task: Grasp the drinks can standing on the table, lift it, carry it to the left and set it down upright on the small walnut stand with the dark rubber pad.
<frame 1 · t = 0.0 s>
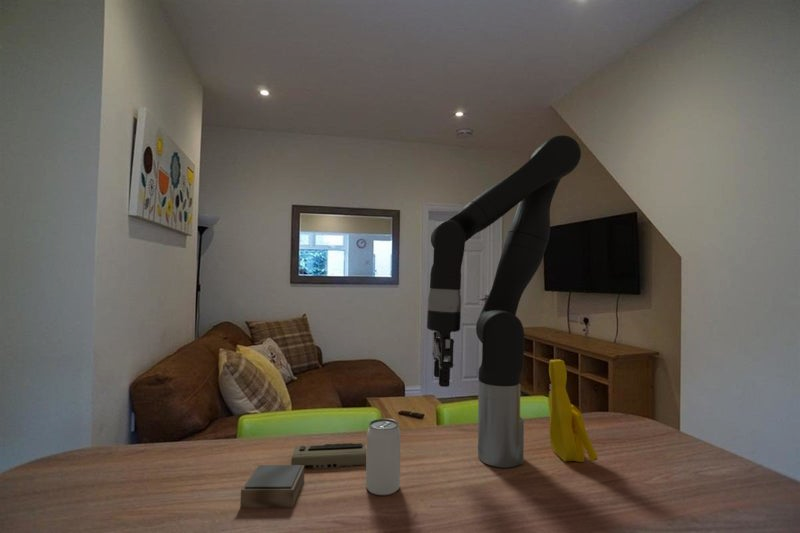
hand: (441, 381, 87), 17 cm above the table, tool pointing down, fingers open, 8 cm apart
can: (382, 488, 73), on the table
computer: (329, 462, 85), on the table
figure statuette: (566, 457, 88), on the table
stand: (274, 493, 71), on the table
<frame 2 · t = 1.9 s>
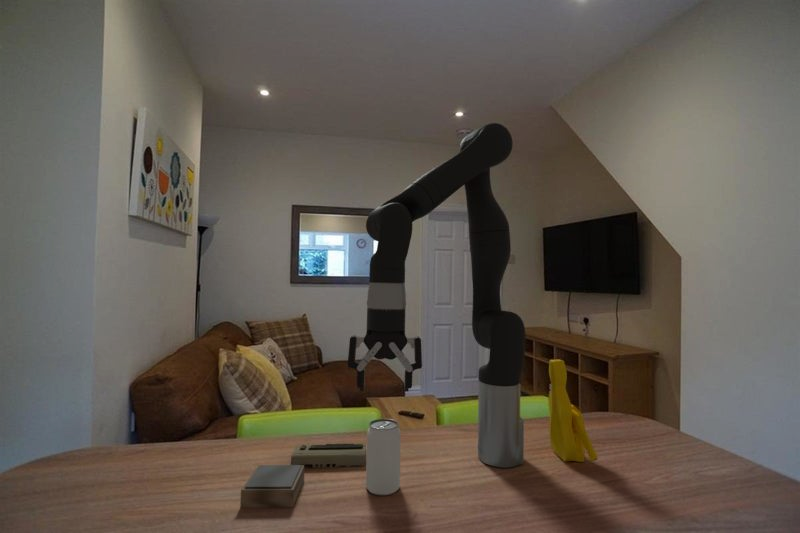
hand: (384, 390, 74), 18 cm above the table, tool pointing down, fingers open, 8 cm apart
nothing on the table moved.
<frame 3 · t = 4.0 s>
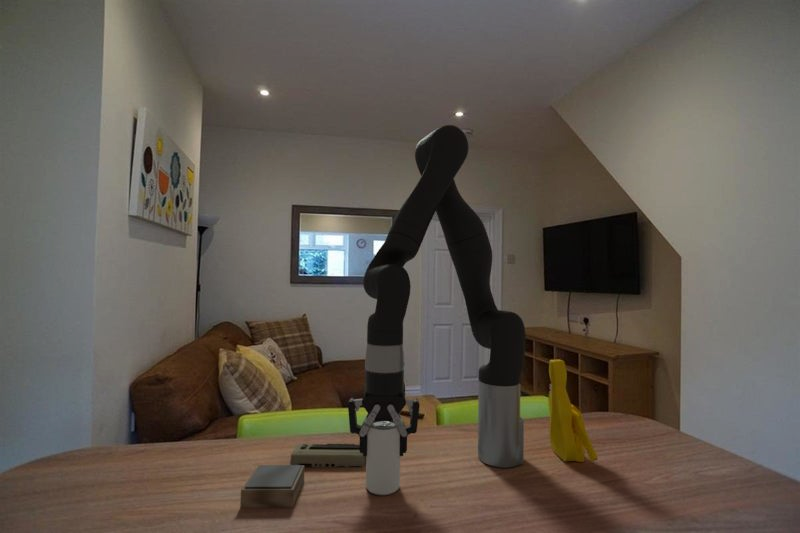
hand: (382, 454, 74), 6 cm above the table, tool pointing down, fingers closed on can, 6 cm apart
can: (382, 488, 73), on the table, touching gripper
everything else where it was.
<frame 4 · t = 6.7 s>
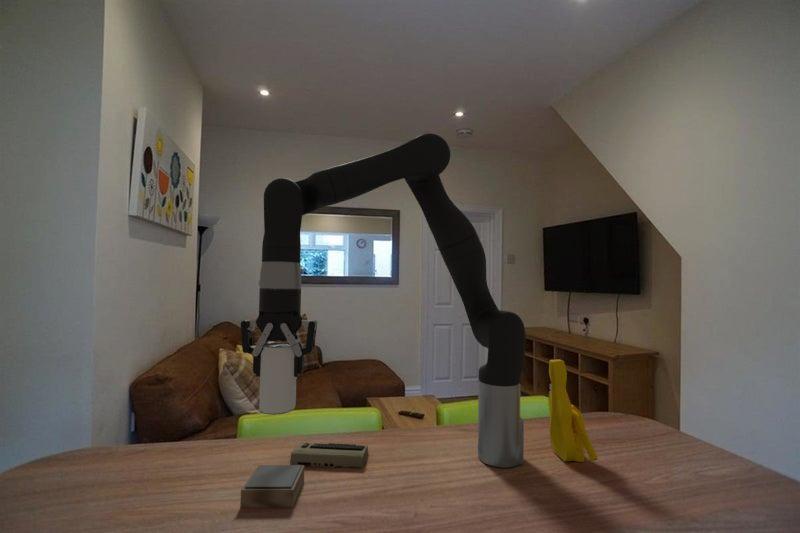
hand: (278, 375, 72), 21 cm above the table, tool pointing down, fingers closed on can, 6 cm apart
can: (277, 410, 71), point 15 cm above the table, touching gripper
when the fingers open (10 cm above the table, at t = 9.6 s): can moves 1 cm, resting on stand.
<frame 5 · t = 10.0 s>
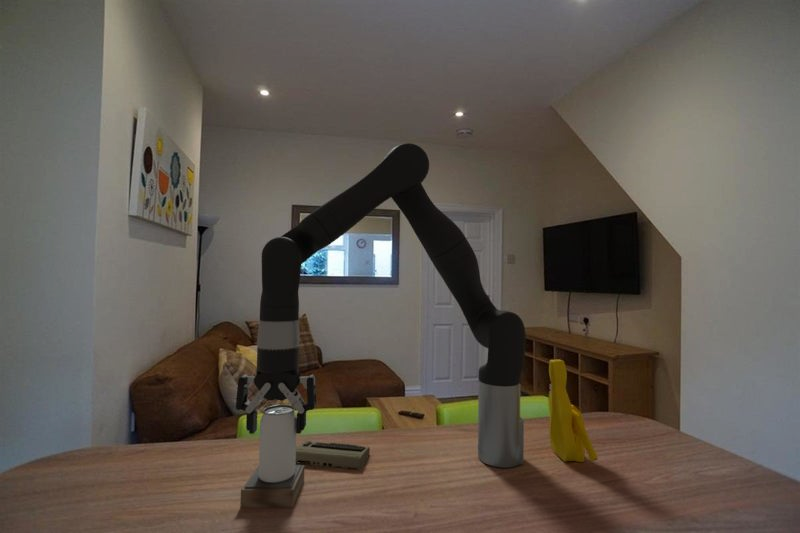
hand: (276, 432, 71), 11 cm above the table, tool pointing down, fingers open, 8 cm apart
can: (277, 476, 71), point 3 cm above the table, touching stand
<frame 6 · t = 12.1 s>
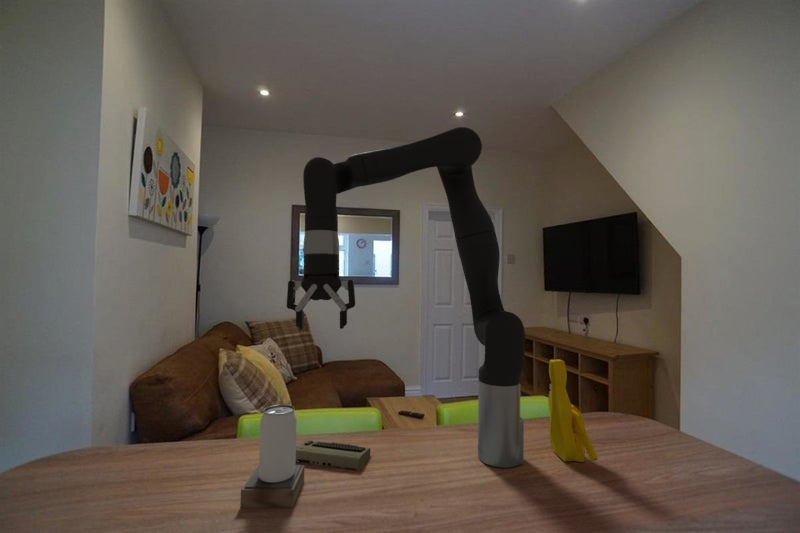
hand: (321, 328, 82), 29 cm above the table, tool pointing down, fingers open, 8 cm apart
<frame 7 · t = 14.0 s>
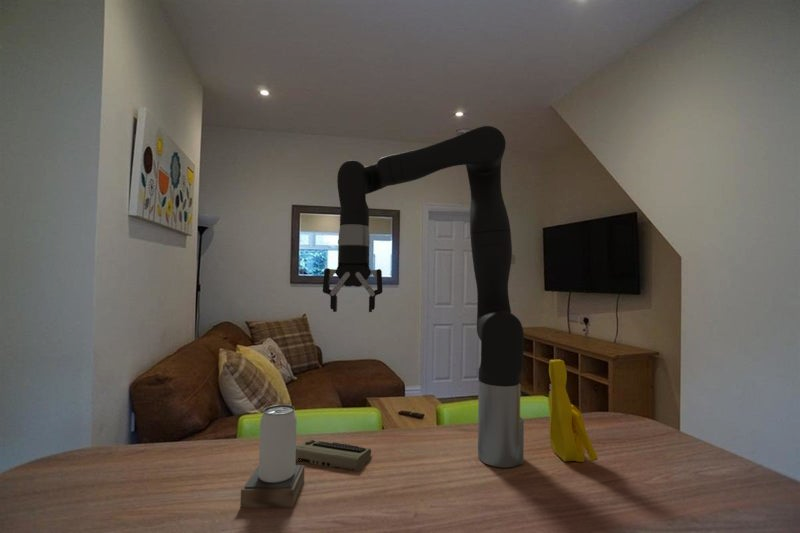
hand: (352, 311, 93), 32 cm above the table, tool pointing down, fingers open, 8 cm apart
at the end: can inside the target area on the stand (0.4 cm from its centre), point 3.1 cm above the stand's base; can tilted 0°; the gripper is holding nothing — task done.
